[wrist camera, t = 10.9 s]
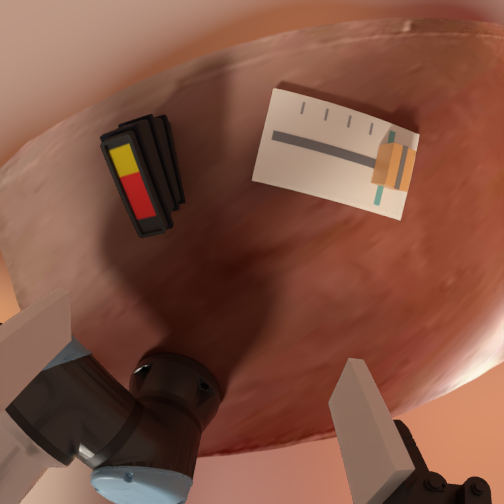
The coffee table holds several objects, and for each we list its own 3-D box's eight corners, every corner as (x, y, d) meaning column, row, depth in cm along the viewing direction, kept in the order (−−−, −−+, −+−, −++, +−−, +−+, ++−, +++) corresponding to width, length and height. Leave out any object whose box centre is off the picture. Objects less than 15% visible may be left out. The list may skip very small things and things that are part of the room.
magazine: (165, 95, 35) (131, 128, 23) (191, 182, 43) (176, 248, 32) (138, 104, 35) (94, 141, 24) (166, 188, 44) (144, 254, 32)
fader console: (394, 218, 40) (400, 220, 38) (252, 180, 39) (251, 180, 37) (412, 136, 37) (419, 134, 35) (273, 91, 36) (273, 87, 34)
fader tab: (390, 190, 37) (407, 193, 32) (370, 183, 37) (385, 185, 32) (399, 152, 35) (416, 150, 31) (379, 144, 35) (394, 141, 31)
